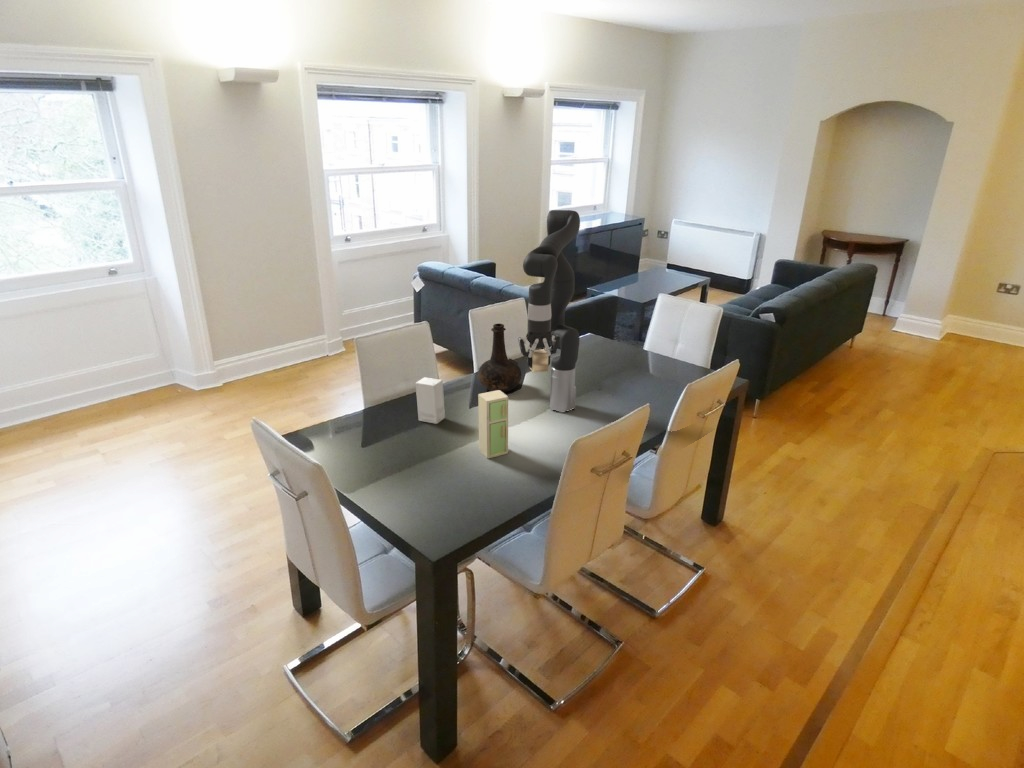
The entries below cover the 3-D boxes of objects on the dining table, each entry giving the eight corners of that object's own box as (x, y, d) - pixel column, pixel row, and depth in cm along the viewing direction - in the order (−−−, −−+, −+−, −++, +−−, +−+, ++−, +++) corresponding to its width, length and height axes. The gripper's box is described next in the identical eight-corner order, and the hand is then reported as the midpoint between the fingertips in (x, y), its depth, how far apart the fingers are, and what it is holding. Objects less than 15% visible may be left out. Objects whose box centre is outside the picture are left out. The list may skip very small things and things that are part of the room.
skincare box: (445, 418, 234) (444, 379, 228) (436, 425, 228) (434, 385, 223) (426, 414, 237) (424, 376, 231) (416, 420, 232) (414, 382, 226)
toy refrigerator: (487, 460, 204) (487, 401, 196) (478, 450, 210) (477, 393, 202) (509, 455, 208) (509, 397, 200) (499, 445, 214) (499, 389, 206)
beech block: (543, 366, 209) (543, 349, 206) (547, 371, 204) (548, 353, 202) (529, 367, 208) (529, 350, 205) (533, 372, 203) (533, 355, 201)
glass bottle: (529, 391, 260) (530, 326, 249) (493, 400, 250) (493, 333, 240) (505, 377, 273) (506, 316, 263) (470, 386, 264) (469, 322, 253)
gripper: (556, 312, 204) (555, 360, 211) (514, 315, 201) (514, 364, 207) (564, 318, 197) (562, 368, 204) (520, 321, 194) (520, 372, 201)
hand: (538, 366), depth 206 cm, fingers closed on beech block, 5 cm apart
